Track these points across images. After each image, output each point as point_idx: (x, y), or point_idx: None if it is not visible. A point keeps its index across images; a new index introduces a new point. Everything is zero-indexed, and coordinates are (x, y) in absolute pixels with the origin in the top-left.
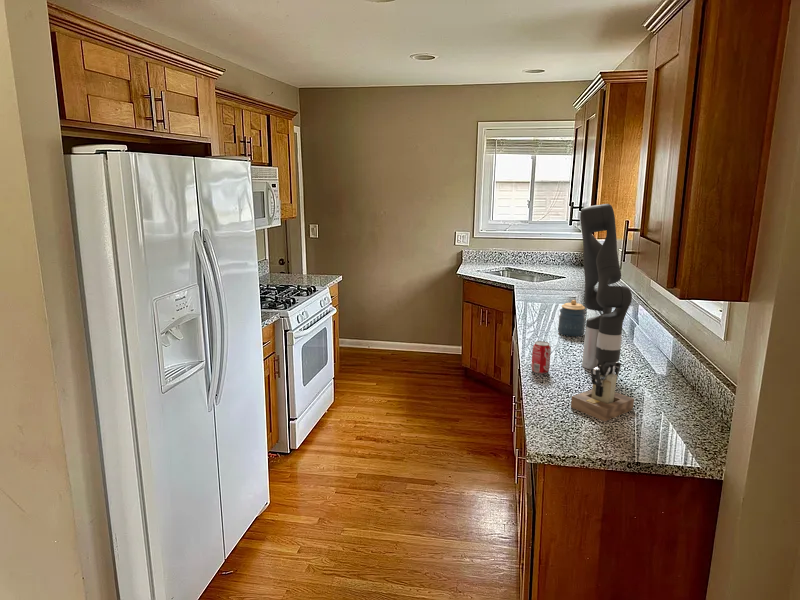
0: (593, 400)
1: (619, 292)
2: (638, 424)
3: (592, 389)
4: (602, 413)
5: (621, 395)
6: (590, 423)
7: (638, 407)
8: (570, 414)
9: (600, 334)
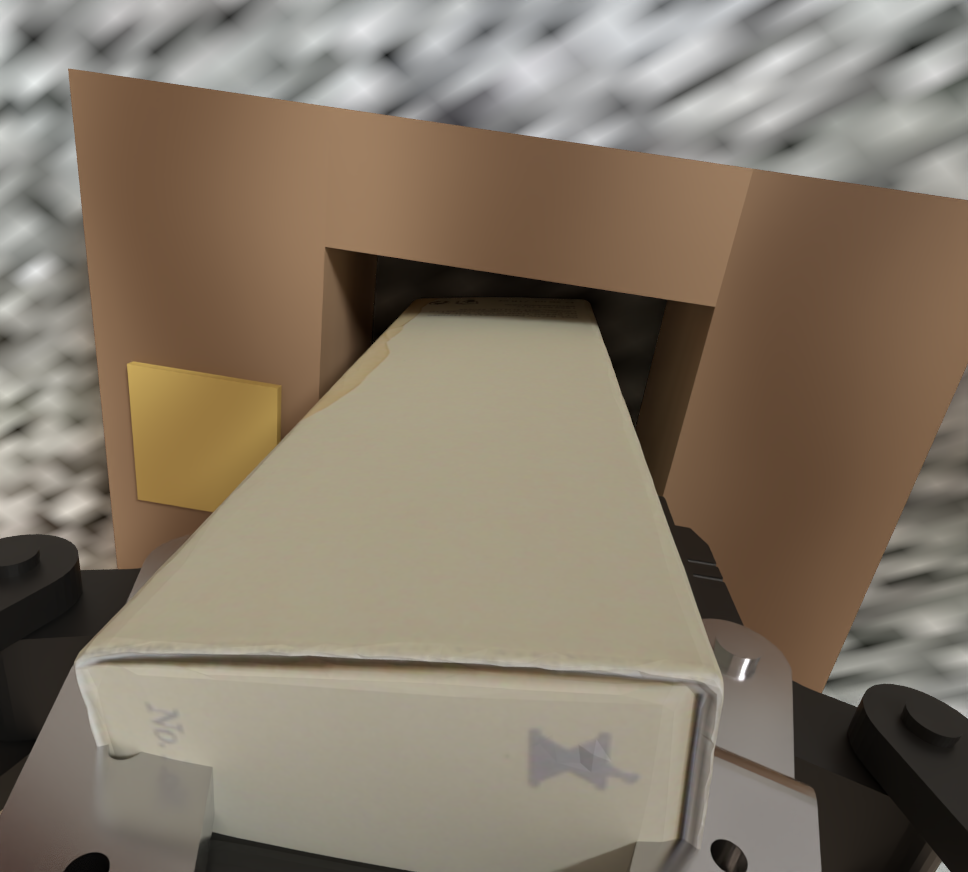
0: (224, 448)
1: None
2: None
3: (338, 380)
4: None
5: (795, 643)
6: (36, 495)
7: (860, 685)
8: (10, 223)
9: None
